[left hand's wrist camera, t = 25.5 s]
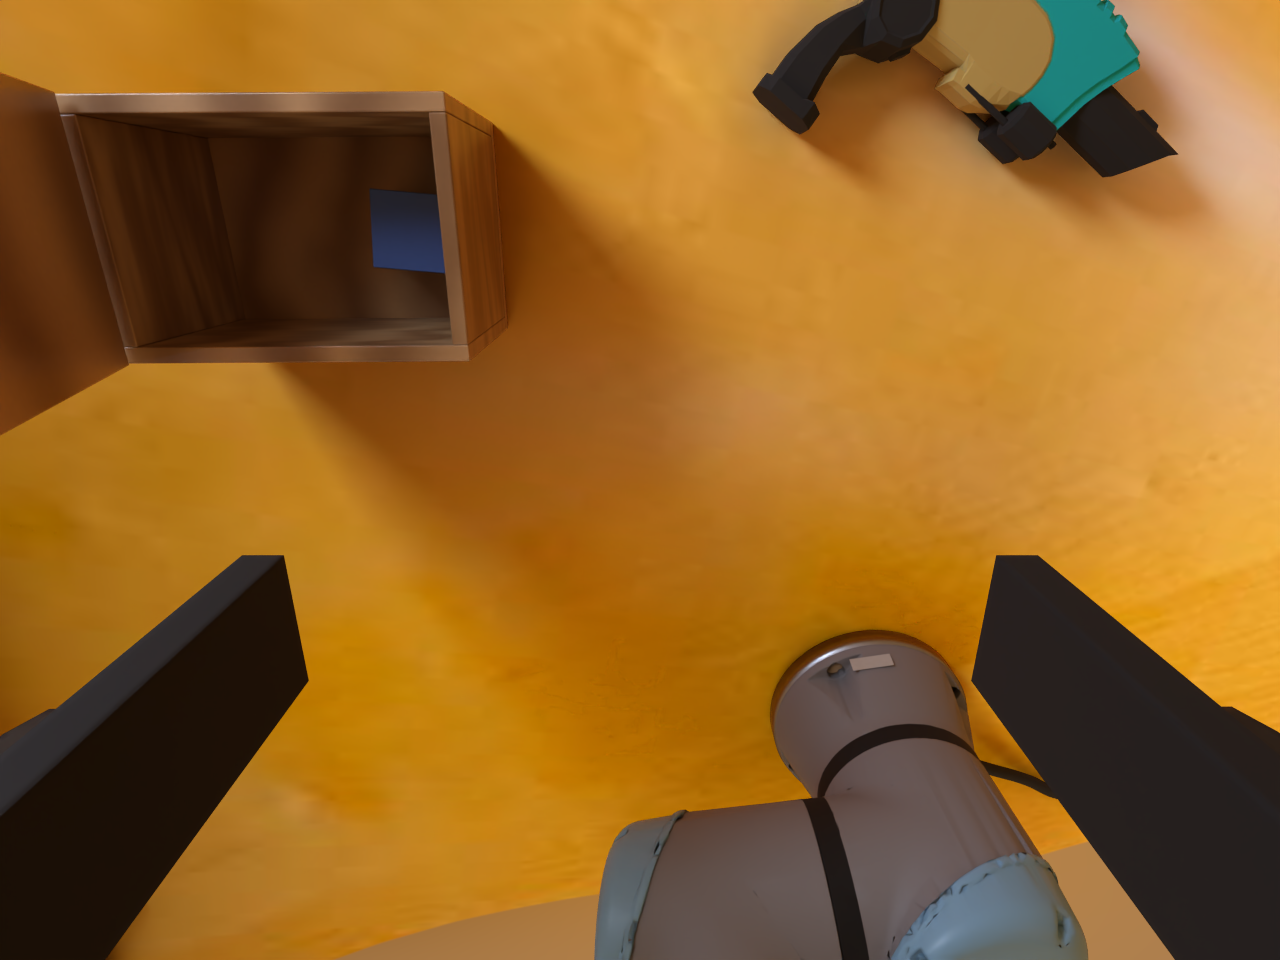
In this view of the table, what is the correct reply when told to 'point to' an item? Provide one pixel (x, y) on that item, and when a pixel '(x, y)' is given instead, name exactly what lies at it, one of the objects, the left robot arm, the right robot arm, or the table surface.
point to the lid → (47, 265)
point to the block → (406, 231)
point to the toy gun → (993, 72)
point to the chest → (286, 223)
